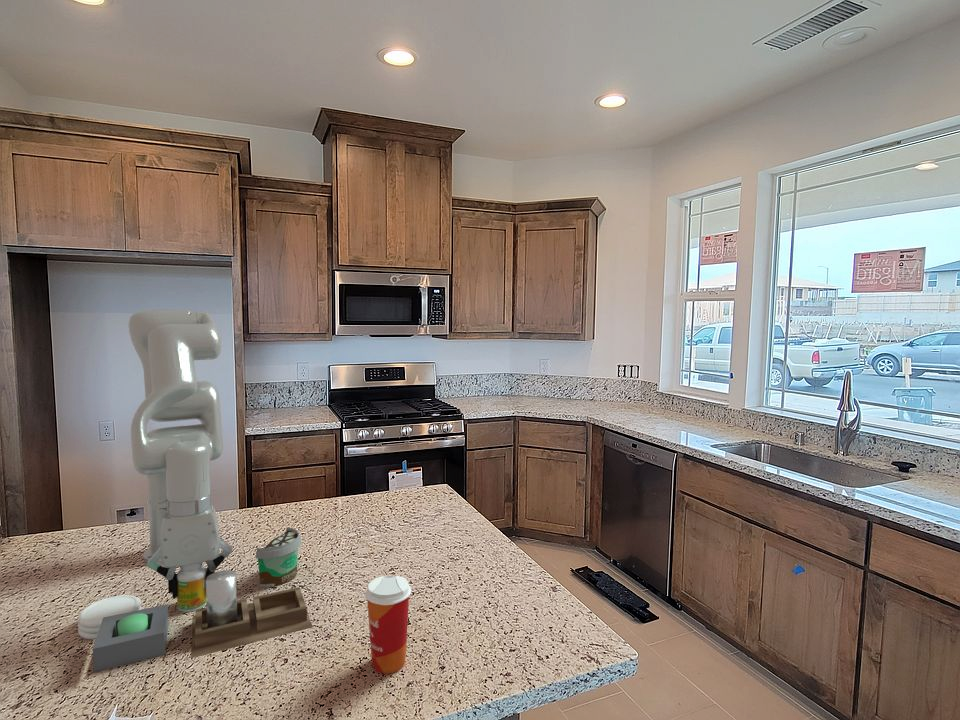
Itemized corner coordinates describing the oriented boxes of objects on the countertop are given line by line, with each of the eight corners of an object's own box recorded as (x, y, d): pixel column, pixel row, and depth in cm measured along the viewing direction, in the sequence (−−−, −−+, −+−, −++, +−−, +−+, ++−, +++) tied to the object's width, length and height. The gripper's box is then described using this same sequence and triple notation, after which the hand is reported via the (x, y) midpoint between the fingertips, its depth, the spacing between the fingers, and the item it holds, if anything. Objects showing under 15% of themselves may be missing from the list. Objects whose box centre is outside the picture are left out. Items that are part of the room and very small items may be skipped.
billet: (207, 624, 99) (205, 573, 98) (236, 618, 101) (235, 568, 101) (207, 639, 95) (205, 586, 94) (238, 632, 97) (236, 579, 96)
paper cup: (368, 650, 94) (368, 574, 93) (412, 648, 94) (412, 572, 93) (362, 680, 86) (362, 598, 85) (410, 677, 87) (410, 596, 85)
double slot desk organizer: (193, 621, 102) (192, 603, 102) (300, 596, 111) (300, 580, 111) (191, 663, 90) (190, 644, 89) (312, 632, 99) (312, 614, 98)
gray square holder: (104, 644, 95) (103, 617, 94) (168, 629, 99) (167, 603, 99) (94, 678, 86) (92, 649, 85) (165, 660, 90) (164, 632, 90)
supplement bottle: (173, 614, 103) (171, 566, 102) (183, 599, 108) (181, 554, 107) (203, 611, 104) (201, 564, 103) (211, 596, 109) (209, 552, 108)
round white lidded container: (141, 630, 99) (140, 612, 99) (75, 647, 94) (73, 628, 94) (142, 605, 108) (141, 589, 107) (81, 619, 103) (80, 602, 102)
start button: (120, 641, 93) (119, 617, 93) (149, 634, 95) (148, 611, 95) (116, 655, 89) (115, 630, 89) (147, 648, 92) (146, 623, 91)
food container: (282, 597, 111) (281, 551, 110) (256, 594, 112) (255, 549, 111) (312, 570, 123) (311, 528, 122) (288, 567, 124) (287, 526, 123)
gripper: (135, 518, 97) (139, 612, 98) (238, 504, 105) (240, 591, 106) (140, 504, 103) (144, 592, 105) (236, 492, 111) (238, 574, 113)
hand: (192, 591), depth 106 cm, fingers closed on supplement bottle, 5 cm apart
